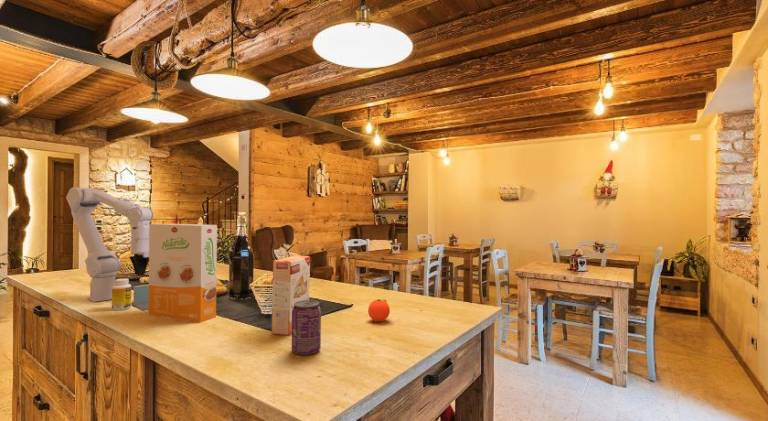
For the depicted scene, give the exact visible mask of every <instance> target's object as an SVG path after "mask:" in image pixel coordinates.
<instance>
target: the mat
mask: <svg viewBox="0 0 768 421" xmlns="http://www.w3.org/2000/svg"><path fill="white" fill-rule="evenodd" d="M131 306H133V307H135V308H137V309H138V310H141V311H149V302H145V303H138V304H132V303H131Z"/></svg>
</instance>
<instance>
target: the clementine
mask: <svg viewBox="0 0 768 421" xmlns="http://www.w3.org/2000/svg"><path fill="white" fill-rule="evenodd" d="M367 312H368V316H369V318H370V319H371V320H373V321H375V322H378V323H381V322H384V321H386V320H387V318H389V315H390V312H391V310H390V306H389V303H388V302H387V299H384V298H378V299H374V300H372V302H370V303H369V305H368V308H367Z"/></svg>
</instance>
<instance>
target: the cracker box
mask: <svg viewBox="0 0 768 421" xmlns="http://www.w3.org/2000/svg"><path fill="white" fill-rule="evenodd" d="M272 262H273V263H272V294H271V295H272V296H271V297H272V298H271V300H272V301H271V302H272V303H271V305H272V306H271V334H272V335H273V334H274V335H282V336H290V335H292V310H293V308H294V303H295V302H298V301H304V300H310V278H311V277H310V276H311V274H310V273H311V256H309V255H291V256H288V257H284V258H280V259H276V260H273V261H272Z"/></svg>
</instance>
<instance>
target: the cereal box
mask: <svg viewBox="0 0 768 421" xmlns="http://www.w3.org/2000/svg"><path fill="white" fill-rule="evenodd" d="M217 239H218V225H217V224H199V223H198V224H197V223H196V224H192V223H191V224H189V223H149V262H148V284H149V310H148V316H155V317H161V318H168V319H175V320H180V321H187V322H195V323H203V322H206V321H209V320H212V319H215V318H217V274H218V273H217V272H218V271H217V266H218V263H217V262H218V261H217V260H218V257H217V256H218V251H217V250H218V240H217Z"/></svg>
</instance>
